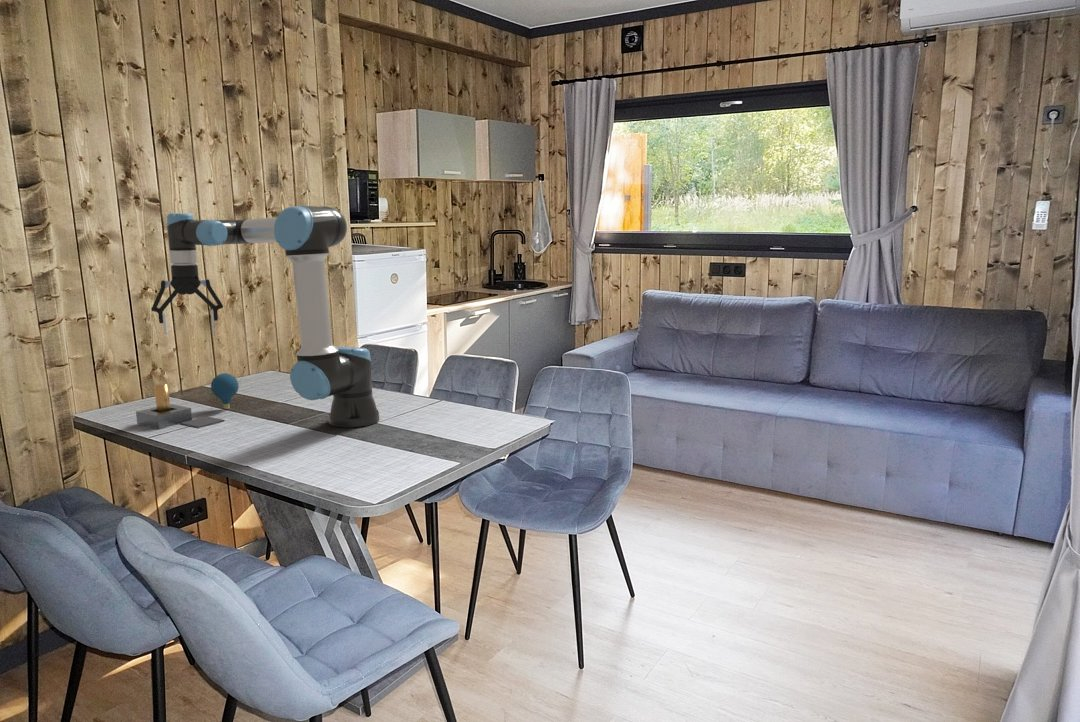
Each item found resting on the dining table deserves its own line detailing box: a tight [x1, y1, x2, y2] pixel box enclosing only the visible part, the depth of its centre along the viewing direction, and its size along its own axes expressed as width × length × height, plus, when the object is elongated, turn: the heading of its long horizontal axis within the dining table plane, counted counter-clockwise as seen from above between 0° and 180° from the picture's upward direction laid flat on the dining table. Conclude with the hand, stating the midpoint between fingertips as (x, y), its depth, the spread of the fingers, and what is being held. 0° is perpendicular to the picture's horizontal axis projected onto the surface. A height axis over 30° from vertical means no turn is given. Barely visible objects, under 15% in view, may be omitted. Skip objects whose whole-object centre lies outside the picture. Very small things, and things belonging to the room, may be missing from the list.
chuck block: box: [135, 403, 193, 430], centre depth 233 cm, size 11×11×4 cm
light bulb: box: [210, 372, 240, 410], centre depth 248 cm, size 8×8×12 cm
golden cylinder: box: [153, 382, 171, 413], centre depth 232 cm, size 4×4×12 cm
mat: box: [179, 415, 225, 429], centre depth 233 cm, size 9×9×1 cm
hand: (190, 332), depth 237 cm, fingers open, 13 cm apart
